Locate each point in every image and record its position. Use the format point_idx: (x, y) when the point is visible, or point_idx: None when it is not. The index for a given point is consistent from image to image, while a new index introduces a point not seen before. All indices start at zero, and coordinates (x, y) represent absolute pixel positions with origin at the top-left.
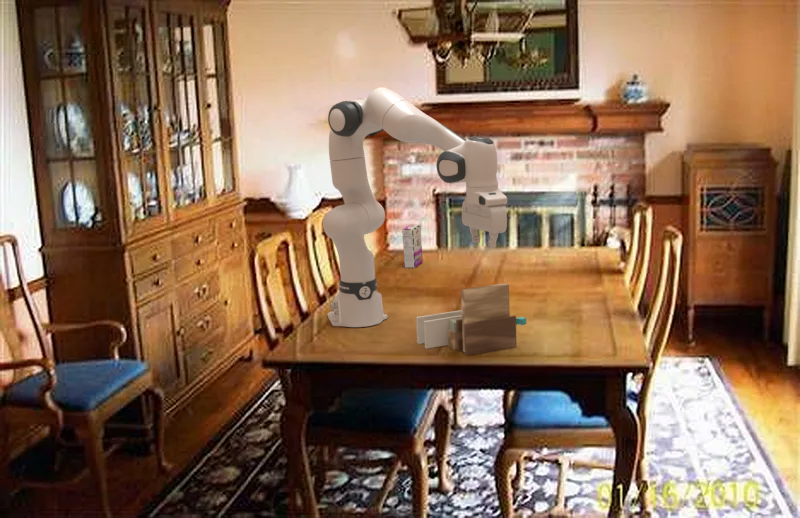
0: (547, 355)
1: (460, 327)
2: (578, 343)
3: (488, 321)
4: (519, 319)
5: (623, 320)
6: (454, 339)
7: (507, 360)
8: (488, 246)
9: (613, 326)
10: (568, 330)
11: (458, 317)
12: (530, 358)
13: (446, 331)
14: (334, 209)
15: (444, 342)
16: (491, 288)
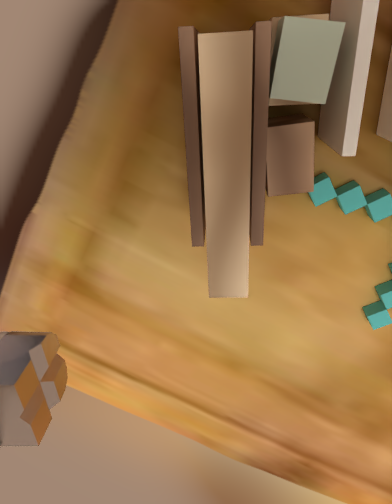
0: (99, 236)
1: (253, 38)
2: (156, 328)
3: (186, 140)
4: (376, 312)
5: (254, 452)
6: (269, 20)
7: (95, 129)
8: (41, 333)
9: (229, 425)
10: (254, 358)
11: (351, 78)
12: (91, 191)
13: (344, 15)
14: None
15: (333, 8)
16: (205, 210)
